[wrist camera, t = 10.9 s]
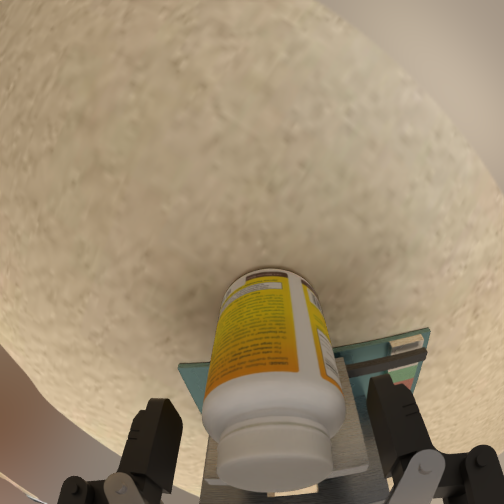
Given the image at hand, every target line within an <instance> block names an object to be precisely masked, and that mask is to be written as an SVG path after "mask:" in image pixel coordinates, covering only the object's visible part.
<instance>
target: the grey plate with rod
mask: <svg viewBox="0 0 504 504" xmlns="http://www.w3.org/2000/svg"><path fill="white" fill-rule="evenodd" d="M426 355H427V350H426V348H425V347H422V348H419V349H415V350H411V351H407V352H403V353H399V354H395V355H391V356H386V357H382V358H378V359H373V360H368V361H363V362H358V363H353V364H348V365H345V362H344V359H343V357H340V358H335V362H336V366H337V370H338V374H339V378H340V382H341V387H342V391H343V395H344V399H345V406H346V415H345V420H344V422H343V424H342V426H341V428H340V429H339V431H338V432H337V433H336V434H335V435H334V436H333V437H332V438H331V439H330V441H331V444H332V447H331V453H332V461H333V470H332V473H331V474H330V475H329V476H328V477H327V478H334V477H339V476H345V475H350V474H355V473H360V472H364V471H367V468H368V466H369V461H368V456H367V452H366V447H365V443H364V438H363V434H362V430H361V425H360V421H359V417H358V413H357V409H356V405H355V401H354V397H353V393H352V389H351V385H350V381H349V378H353V377H358V376H363V375H368V374H372V373H377V372H381V371H386V370H390V369H394V368H398V367H402V366H406V365H409V364H413V363H417V362H420V361H424V360H425V359H426ZM218 444H219V443H217V442H216V441H215V440H214V439H212V437H211V436H210V439H209V445H208V452H207V460H206V467H205V474H204V479H205V480H206V482H207V483H208V484H209V485H228V484H227V483H225V482H223V481H222V480H221V479H220V478H219V477H218V475H217V471H216V468H217V459H218V452H217V446H218ZM327 478H326V479H327Z"/></svg>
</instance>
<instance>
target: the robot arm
mask: <svg viewBox="0 0 504 504" xmlns="http://www.w3.org/2000/svg"><path fill="white" fill-rule="evenodd" d="M366 405H367V411H368V415H369V419H370V422H371V426H372V430H373V434H374V437H375V441H376V445H377V449H378V453H379V457H380V461H381V465H382V469H383V474H384V478H385V479H386V478H389V477H392V478H393V482H394V485H393V487H392V489H391V491H390V493H389V495H388V496H387V498H386V500H385V502H384V503H383V504H430V503H431V500H432V498H443V503H444V504H504V475H503V472H502V469H501V466H500V463H499V460H498V457H497V454H496V452H495V450H494V449H493V448H492V447H490V446H488V445H479V446H476V447H474V448H473V449H472V450H471V451H470V452H467V453H458V454H445V453H442V452H440V451H438V450H437V449H436V448H435V447H434V446H433V445H432V442H431V440H430V437H429V434H428V432H427V429H426V426H425V424H424V421H423V419H422V416H421V413H420V412H419V408H418V406H417V404H416V401H415V399H414V396H413V394H412V391H411V390H409V389H408V388H407V387H406V386H405V385H404V384H403V383H401V384H397V385H394V383H393V381H392V378H391V376H390V374H388V373H387V374H383V375H379V376H375V377H371V378H370V380H369V386H368V392H367V398H366ZM130 430H131V431H130V432H129V435H128V440H127V441H126V445H125V448H124V451H123V455H122V458H121V461H120V465H119V468H118V470H117V472H116V473H113V474H111V475H110V476H109V477H108V478H107V479H106V480H99V481H87V482H86V481H85V480H84V479H82V478H81V477H78V476H71V477H69V478H67V479H66V480H65V481H64V483H63V485H62V488H61V492H60V496H59V499H58V503H57V504H164V503H163V502H162V500H161V496H162V493H166V494H171V491H172V485H173V479H174V474H175V468H176V463H177V457H178V452H179V446H180V441H181V436H182V430H183V423H182V419H181V417H180V415H179V414H178V412H177V411H176V409H175V408H174V406H173V404H172V403H171V401H170V400H169V399H163V398H151V399H150V400H149V401H148V404H147V407H146V410H140V411H139V413H138V414H137V415H136V416H135V418H134V419H133V422H132V425H131V428H130Z"/></svg>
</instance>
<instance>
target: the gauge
mask: <svg viewBox="0 0 504 504" xmlns="http://www.w3.org/2000/svg"><path fill="white" fill-rule="evenodd" d="M430 332H431V331H430V329H429V328H425V329H421V330H418V331H414V332H409V333H405V334H401V335H397V336H393V337H388V338H384V339H379V340H374V341H369V342H364V343H359V344H354V345H349V346H343V347H337V348H332V349H333V354H334V358H340V357H343V359H344V362H345V365H348V364H353V363H358V362H363V361H368V360H373V359H378V358H382V357H386V356H391V355H395V354H399V353H403V352H407V351H411V350H415V349H419V348H422V347H425V348H427V344H428V340H429V336H430ZM422 363H423V361H420V362H417V363H413V364H409V365H406V366H402V367H398V368H394V369H390V370H386V371H381V372H377V373H372V374H368V375H363V376H358V377H353V378H349V381H350V385H351V389H352V393H353V397H354V401H355V405H356V409H357V413H358V417H359V421H360V425H361V430H362V434H363V438H364V443H365V447H366V452H367V456H368V461H369V466H368V468H367V471H364V472H360V473H355V474H350V475H345V476H339V477H334V478H327V479H324V480H323V481H321V482H319V483H317V484H316V485H317V493H309V494H300V495H290V496H276V497H275V492H254V491H248V490H243V489H239V488H236V487H233V486H231V485H209V484H208V483H207V482H206V480H205V479H204V474H205V467H206V460H207V452H208V445H209V439H210V435H209V439H208V445H207V452H206V459H205V466H204V473H203V480H202V488H201V495H200V502H199V504H383V503H384V502H385V500H386V498H387V496H388V495H389V493H390V492H389V488H388V483H387V478H386V479H385V478H384V474H383V469H382V465H381V461H380V457H379V453H378V449H377V445H376V441H375V437H374V434H373V430H372V426H371V422H370V419H369V415H368V411H367V405H366V398H367V392H368V386H369V380H370V378H371V377H375V376H379V375H383V374H387V373H388V374H390V376H391V378H392V381H393V383H394V385H397V384H401V383H403V384H404V385H405V386H406V387H407V388H408V389H409V390H411V391H412V394H413V392H414V389H415V386H416V383H417V380H418V377H419V373H420V370H421V366H422ZM209 367H210V363H192V364H179V365H178V370H179V372H180V374H181V376H182V378H183V380H184V382H185V384H186V386H187V388H188V390H189V392H190V394H191V396H192V398H193V399H194V401H195V403H196V405H197V407H198V409H199V411H200V412H201V414H202V407H203V401H204V396H205V390H206V384H207V378H208V372H209Z"/></svg>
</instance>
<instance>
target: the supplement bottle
mask: <svg viewBox="0 0 504 504" xmlns="http://www.w3.org/2000/svg"><path fill="white" fill-rule="evenodd" d="M345 415H346V406H345V399H344V395H343V391H342V387H341V382H340V378H339V374H338V370H337V366H336V362H335V358H334V354H333V349H332V346H331V341H330V338H329V334H328V330H327V327H326V323H325V320H324V316H323V312H322V309H321V305H320V302H319V299H318V296H317V294H316V292H315V290H314V289H313V287H312V286H311V285H310V284H309V283H308V282H307V281H306V280H305V279H303V278H302V277H300V276H299V275H297V274H295V273H292V272H290V271H286V270H281V269H261V270H257V271H253V272H250V273H248V274H246V275H244V276H242V277H240V278H239V279H238V280H237V281H235V282H234V283H233V284H232V285H231V286H230V287H229V289H228V290H227V292H226V294H225V295H224V298H223V301H222V304H221V308H220V314H219V319H218V324H217V329H216V334H215V340H214V345H213V351H212V356H211V361H210V367H209V372H208V378H207V384H206V390H205V396H204V401H203V407H202V421H203V425H204V427H205V429H206V431H207V433H208V434H209V435H210V436H211V437H212V439H214V440H215V441H216V442H217V443H219V444H218V446H217V452H218V459H217V468H216V471H217V475H218V477H219V478H220V479H221V480H222V481H223V482H225V483H227V484H228V485H231V486H233V487H236V488H239V489H243V490H248V491H254V492H287V491H294V490H299V489H303V488H306V487H310V486H313V485H315V484H317V483H319V482H321V481H323V480H324V479H326V478H327V477H328V476H329V475H330V474H331V473H332V470H333V461H332V453H331V447H332V444H331V441H330V439H331V438H332V437H333V436H334V435H335V434H336V433H337V432H338V431H339V429H340V428H341V426H342V424H343V422H344V420H345Z"/></svg>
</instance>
